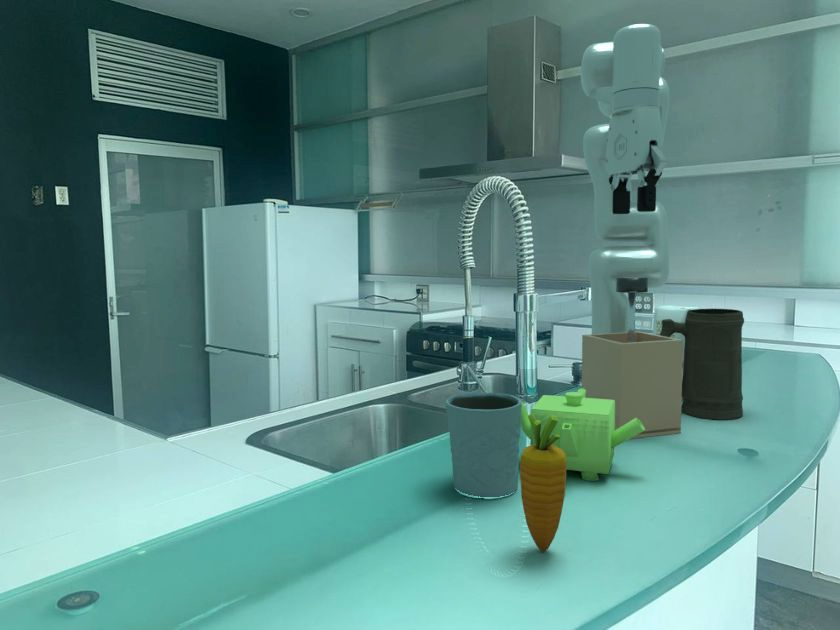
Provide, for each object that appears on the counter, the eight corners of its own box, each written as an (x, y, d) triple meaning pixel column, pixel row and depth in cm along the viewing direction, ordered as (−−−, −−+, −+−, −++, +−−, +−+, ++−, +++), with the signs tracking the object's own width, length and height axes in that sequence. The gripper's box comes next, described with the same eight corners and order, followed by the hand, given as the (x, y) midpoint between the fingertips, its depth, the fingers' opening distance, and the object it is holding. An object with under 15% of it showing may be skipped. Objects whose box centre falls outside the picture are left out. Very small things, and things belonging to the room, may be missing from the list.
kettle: (502, 461, 97) (502, 388, 95) (577, 447, 103) (578, 378, 101) (565, 495, 83) (566, 410, 82) (647, 477, 89) (649, 398, 88)
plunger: (593, 362, 115) (594, 277, 114) (637, 359, 118) (638, 275, 116) (622, 372, 106) (624, 279, 105) (669, 368, 109) (672, 278, 107)
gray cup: (504, 507, 79) (504, 413, 78) (433, 493, 84) (431, 404, 83) (532, 480, 88) (532, 395, 87) (465, 469, 93) (465, 388, 92)
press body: (574, 418, 120) (575, 333, 118) (630, 412, 123) (631, 329, 121) (619, 439, 106) (621, 344, 104) (680, 432, 109) (683, 340, 108)
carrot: (514, 541, 70) (514, 408, 69) (558, 539, 71) (559, 406, 69) (525, 564, 65) (526, 420, 64) (573, 561, 66) (574, 418, 64)
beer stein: (734, 405, 127) (730, 305, 125) (757, 420, 116) (753, 310, 114) (654, 410, 128) (649, 311, 126) (669, 424, 118) (664, 317, 116)
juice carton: (663, 389, 142) (665, 304, 140) (703, 395, 136) (705, 306, 134) (647, 395, 136) (649, 306, 134) (688, 401, 130) (690, 309, 128)
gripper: (588, 114, 115) (586, 215, 117) (648, 91, 98) (646, 209, 100) (624, 116, 117) (622, 215, 119) (689, 94, 100) (686, 209, 102)
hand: (633, 211), depth 109 cm, fingers open, 6 cm apart
